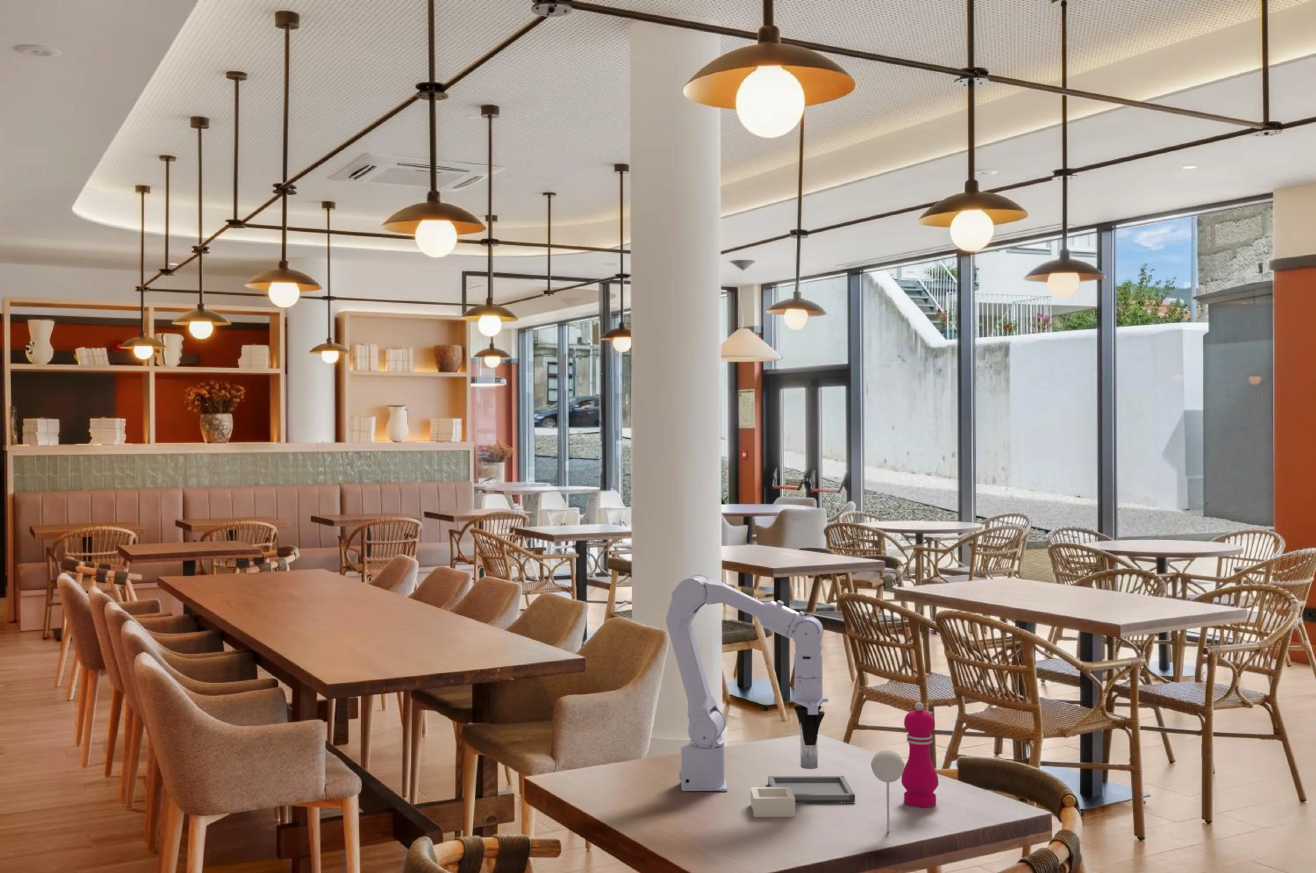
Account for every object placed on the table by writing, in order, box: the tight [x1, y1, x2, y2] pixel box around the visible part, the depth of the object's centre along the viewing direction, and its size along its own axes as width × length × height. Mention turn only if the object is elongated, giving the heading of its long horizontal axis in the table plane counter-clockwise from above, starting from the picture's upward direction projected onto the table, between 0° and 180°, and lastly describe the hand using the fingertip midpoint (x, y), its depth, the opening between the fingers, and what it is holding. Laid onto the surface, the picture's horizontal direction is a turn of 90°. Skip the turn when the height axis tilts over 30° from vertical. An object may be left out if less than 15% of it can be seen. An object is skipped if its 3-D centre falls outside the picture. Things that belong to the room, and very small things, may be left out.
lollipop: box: [870, 748, 905, 833], centre depth 210 cm, size 6×6×15 cm
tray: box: [767, 775, 856, 804], centre depth 235 cm, size 16×14×2 cm
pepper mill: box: [900, 701, 939, 808], centre depth 228 cm, size 7×7×20 cm
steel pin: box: [799, 722, 819, 770], centre depth 235 cm, size 4×4×9 cm
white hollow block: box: [750, 786, 796, 818], centre depth 223 cm, size 8×8×4 cm
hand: (808, 742), depth 235 cm, fingers closed on steel pin, 3 cm apart
